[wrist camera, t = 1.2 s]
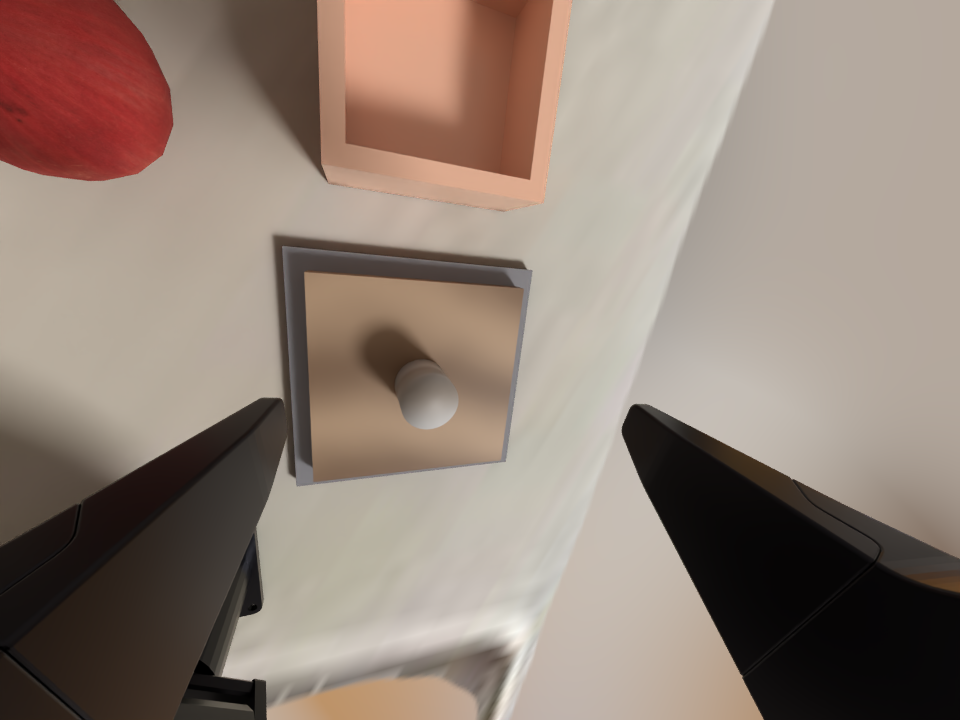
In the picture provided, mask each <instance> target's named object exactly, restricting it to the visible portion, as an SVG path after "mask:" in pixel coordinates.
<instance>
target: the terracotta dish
mask: <svg viewBox="0 0 960 720" xmlns="http://www.w3.org/2000/svg"><path fill="white" fill-rule="evenodd" d="M571 6H572V0H317V22H318V59H319V95H320V132H321V164H322V167H323V170H324V172H325V175H326V178H327V180H328V183H329V184H333V185H340V186H346V187H352V188H358V189H365V190H371V191H377V192H384V193H390V194H396V195H402V196H409V197H415V198H421V199H427V200H434V201H440V202H446V203H453V204H459V205H465V206H471V207H478V208H484V209H490V210H497V211H503V212H504V211H509V210H514V209H518V208H523V207H528V206H533V205H537V204H542V203H544V197H545V190H546V183H547V176H548V169H549V162H550V154H551V147H552V140H553V133H554V126H555V119H556V112H557V105H558V98H559V91H560V84H561V77H562V70H563V63H564V55H565V48H566V41H567V34H568V27H569V20H570V13H571Z"/></svg>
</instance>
